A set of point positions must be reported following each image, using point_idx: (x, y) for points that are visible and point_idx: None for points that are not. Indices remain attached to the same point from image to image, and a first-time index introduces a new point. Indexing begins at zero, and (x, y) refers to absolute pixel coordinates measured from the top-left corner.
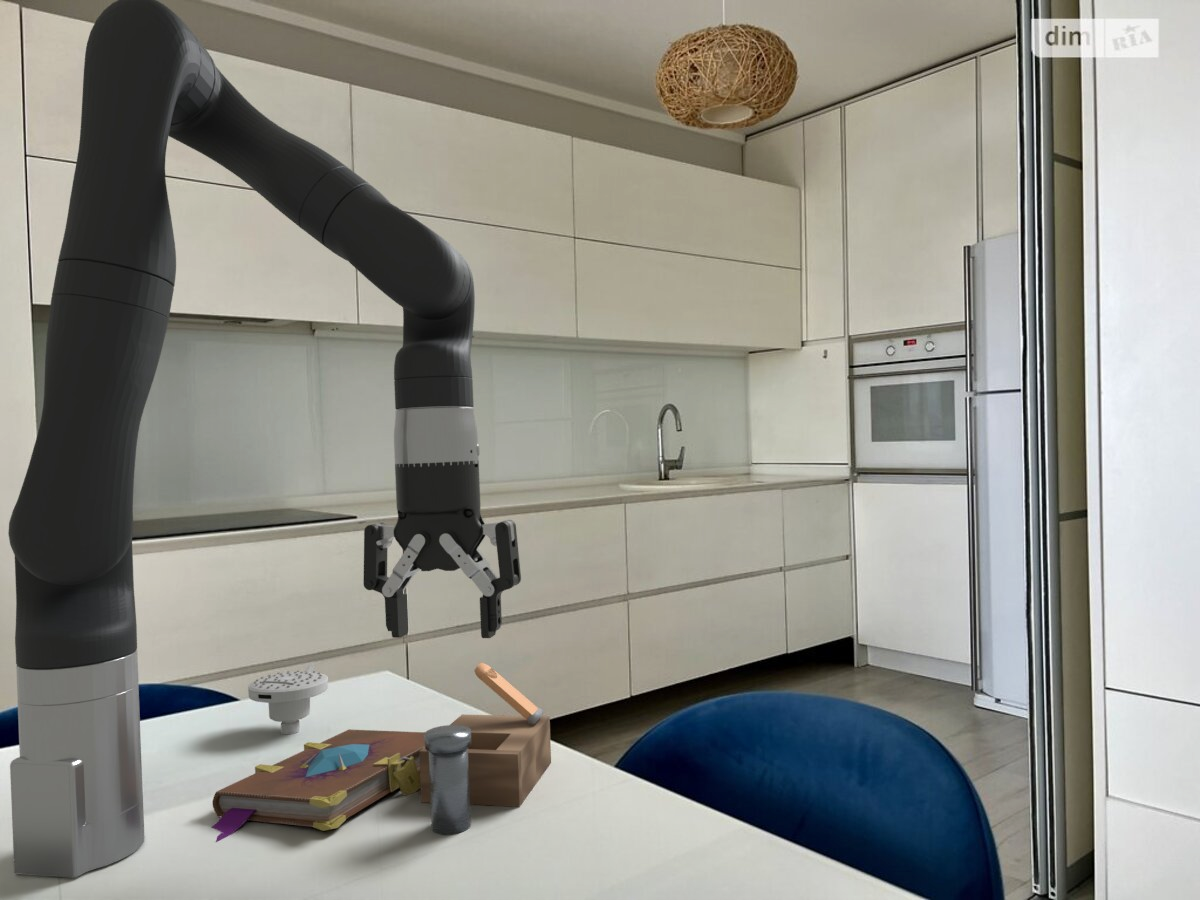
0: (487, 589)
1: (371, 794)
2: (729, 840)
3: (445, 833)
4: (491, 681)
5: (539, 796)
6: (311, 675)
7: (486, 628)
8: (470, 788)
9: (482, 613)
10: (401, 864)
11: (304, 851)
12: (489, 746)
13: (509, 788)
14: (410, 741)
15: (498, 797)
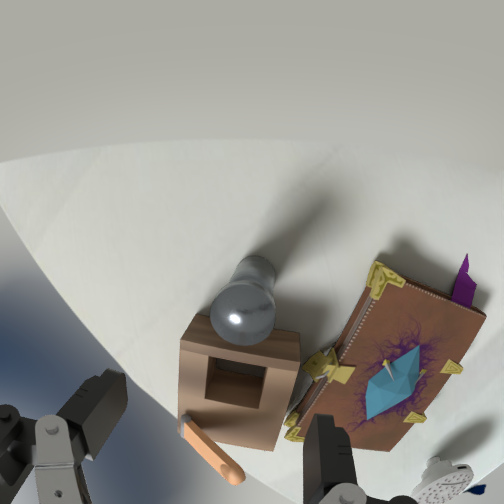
0: (49, 424)
1: (350, 333)
2: (37, 232)
3: (256, 256)
4: (223, 459)
5: (182, 335)
6: (426, 500)
7: (103, 377)
8: None
9: (95, 400)
10: (286, 192)
11: (390, 227)
12: (232, 394)
13: (201, 323)
14: None
15: None
